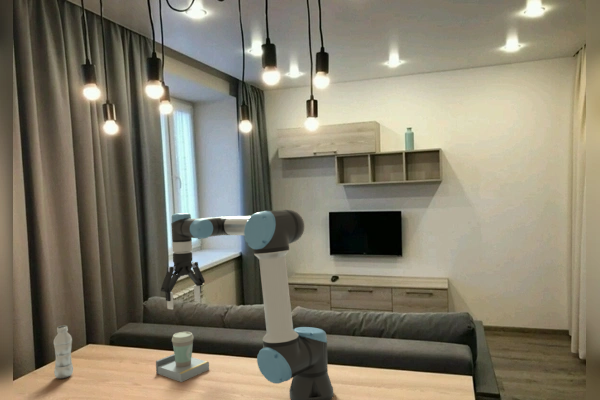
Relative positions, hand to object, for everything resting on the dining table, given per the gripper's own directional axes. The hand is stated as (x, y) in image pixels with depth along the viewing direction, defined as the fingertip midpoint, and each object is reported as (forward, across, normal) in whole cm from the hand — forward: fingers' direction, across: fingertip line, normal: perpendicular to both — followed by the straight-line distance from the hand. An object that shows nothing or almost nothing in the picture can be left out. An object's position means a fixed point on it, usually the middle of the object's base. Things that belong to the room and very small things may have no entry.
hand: (184, 305), depth 178 cm
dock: (+27, +1, -1) cm, 27 cm away
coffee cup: (+24, +1, -1) cm, 24 cm away
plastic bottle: (+27, +29, -38) cm, 55 cm away
